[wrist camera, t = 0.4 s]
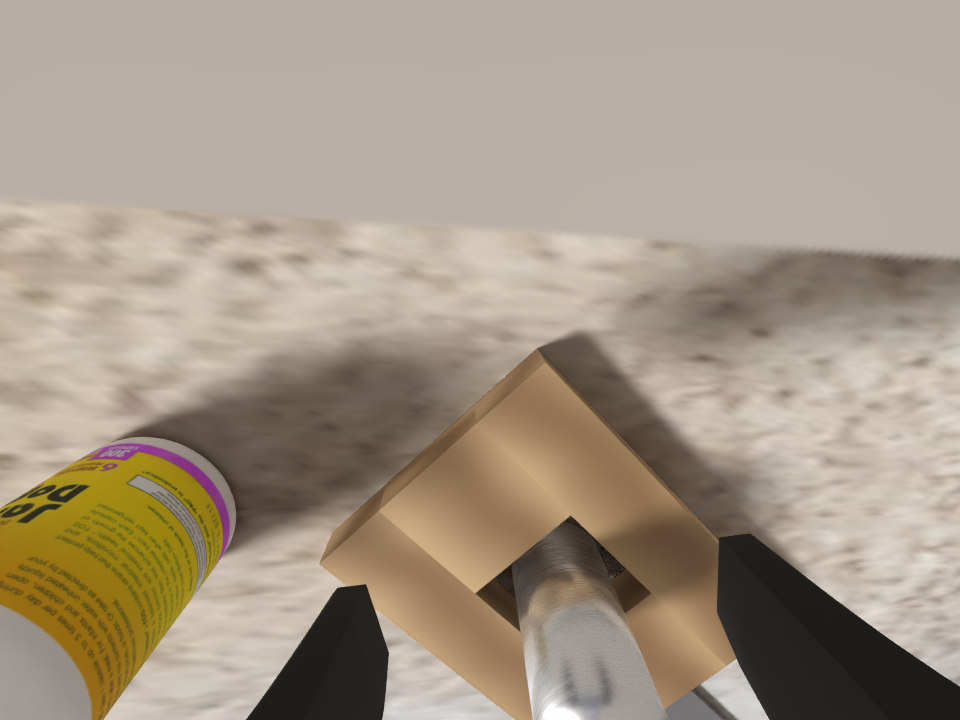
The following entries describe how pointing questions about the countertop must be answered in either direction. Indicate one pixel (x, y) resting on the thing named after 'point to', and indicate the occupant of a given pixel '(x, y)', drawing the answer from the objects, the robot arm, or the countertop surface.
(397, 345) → the countertop surface
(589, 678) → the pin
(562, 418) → the holder
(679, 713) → the mat
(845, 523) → the countertop surface
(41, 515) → the supplement bottle
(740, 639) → the robot arm
